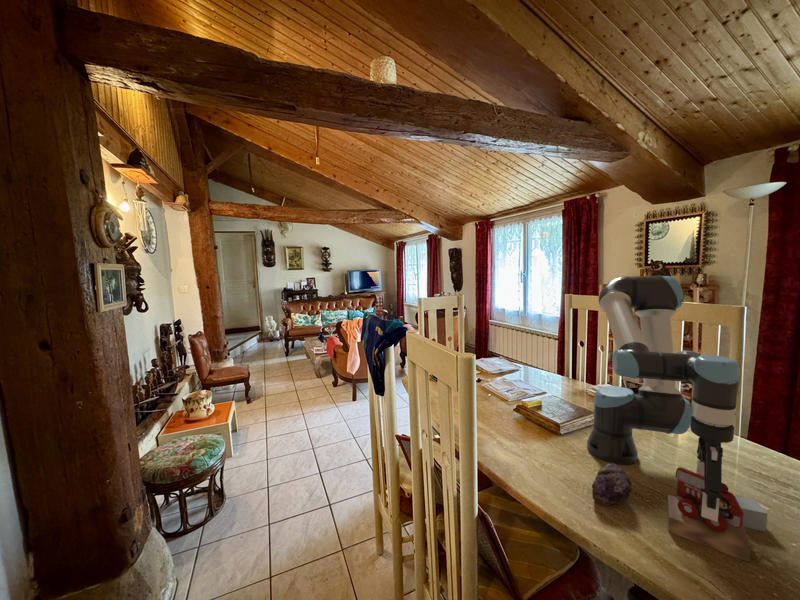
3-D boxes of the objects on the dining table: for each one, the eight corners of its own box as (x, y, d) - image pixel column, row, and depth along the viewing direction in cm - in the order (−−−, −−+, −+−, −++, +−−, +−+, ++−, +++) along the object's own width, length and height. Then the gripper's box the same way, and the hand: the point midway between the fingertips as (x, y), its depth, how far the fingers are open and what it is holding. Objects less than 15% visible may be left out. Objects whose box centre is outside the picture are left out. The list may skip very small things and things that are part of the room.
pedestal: (668, 531, 81) (669, 517, 80) (667, 507, 88) (668, 494, 88) (749, 562, 72) (750, 546, 72) (740, 532, 80) (741, 517, 79)
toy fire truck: (737, 541, 73) (740, 499, 72) (669, 508, 83) (671, 471, 82) (744, 527, 76) (748, 487, 75) (678, 497, 87) (681, 461, 86)
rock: (586, 502, 93) (627, 520, 86) (584, 477, 91) (626, 493, 84) (598, 477, 101) (637, 492, 93) (597, 454, 99) (636, 467, 92)
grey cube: (738, 525, 82) (740, 507, 81) (728, 512, 86) (729, 494, 86) (765, 531, 80) (767, 513, 79) (753, 517, 84) (755, 499, 84)
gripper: (745, 449, 65) (737, 543, 68) (725, 405, 85) (719, 479, 87) (696, 438, 70) (689, 526, 72) (687, 398, 89) (682, 469, 92)
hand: (705, 500), depth 80 cm, fingers open, 13 cm apart
